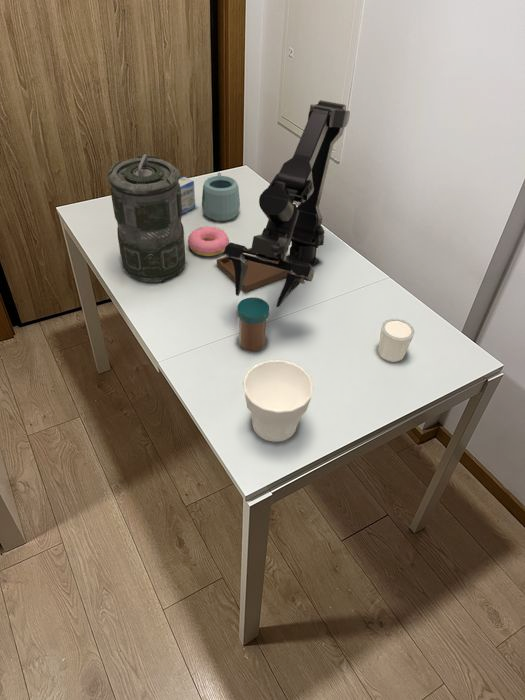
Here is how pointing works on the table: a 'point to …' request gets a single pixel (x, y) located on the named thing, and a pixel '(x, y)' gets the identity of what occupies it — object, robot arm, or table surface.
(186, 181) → the medicine box
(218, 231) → the doughnut
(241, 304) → the lid
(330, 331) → the table surface
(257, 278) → the tray
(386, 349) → the cream cylinder
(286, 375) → the cream flower pot
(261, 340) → the jar
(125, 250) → the canister
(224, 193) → the mug
